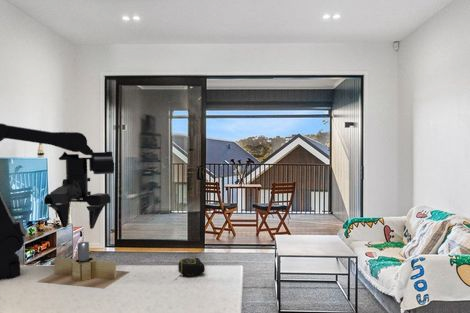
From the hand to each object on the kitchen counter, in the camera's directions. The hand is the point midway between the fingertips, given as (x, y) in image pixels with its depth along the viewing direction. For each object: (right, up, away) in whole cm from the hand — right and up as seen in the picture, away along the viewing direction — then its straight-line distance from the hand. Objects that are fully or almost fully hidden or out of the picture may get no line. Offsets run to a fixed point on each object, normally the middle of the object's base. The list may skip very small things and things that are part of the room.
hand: (78, 228), depth 105 cm
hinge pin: (+6, -11, -10) cm, 16 cm away
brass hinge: (+6, -11, -9) cm, 16 cm away
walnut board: (+6, -12, -9) cm, 16 cm away
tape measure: (+34, -12, -5) cm, 37 cm away
